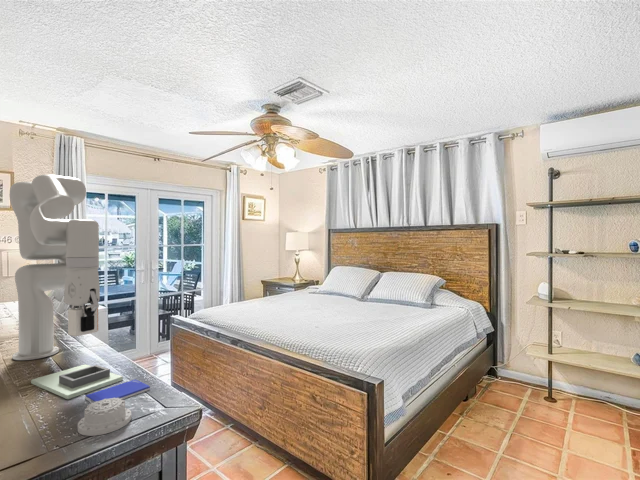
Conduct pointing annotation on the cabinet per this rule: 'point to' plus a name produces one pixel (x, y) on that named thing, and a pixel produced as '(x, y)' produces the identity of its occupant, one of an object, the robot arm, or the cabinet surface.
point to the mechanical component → (104, 417)
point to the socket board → (77, 380)
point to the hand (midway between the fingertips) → (83, 328)
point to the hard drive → (119, 391)
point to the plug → (79, 322)
